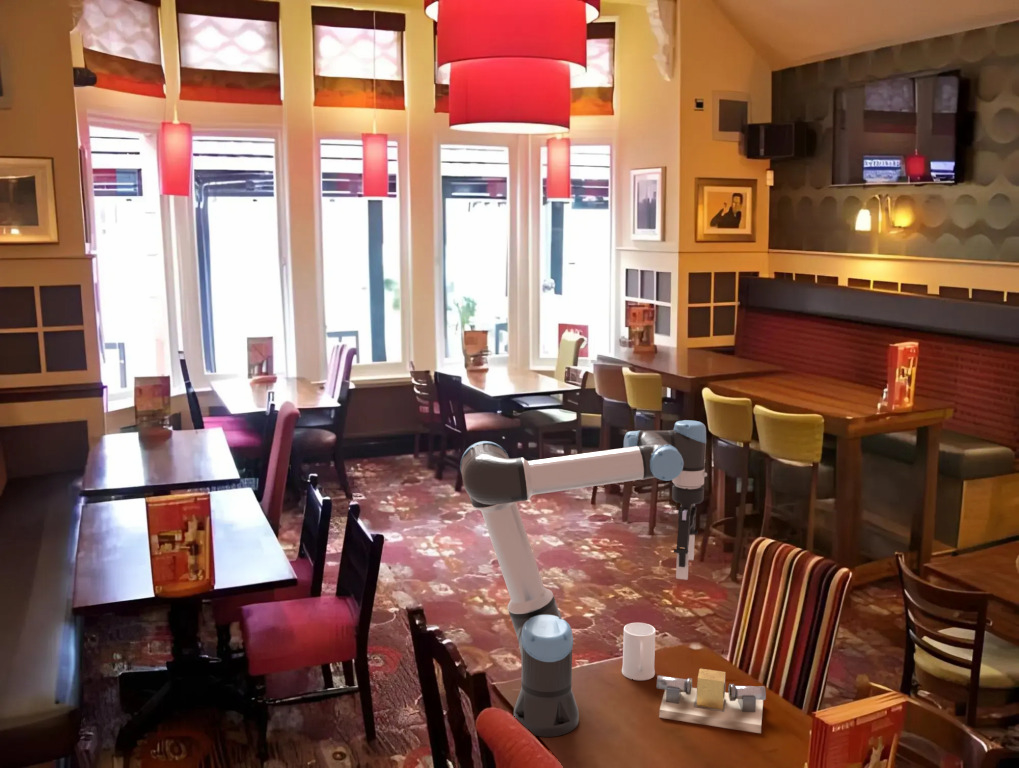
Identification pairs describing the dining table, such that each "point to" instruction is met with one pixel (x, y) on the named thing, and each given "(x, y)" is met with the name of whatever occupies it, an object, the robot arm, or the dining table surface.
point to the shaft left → (674, 687)
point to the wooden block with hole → (711, 689)
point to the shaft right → (746, 696)
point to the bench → (713, 713)
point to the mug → (638, 651)
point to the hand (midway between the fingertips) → (685, 568)
